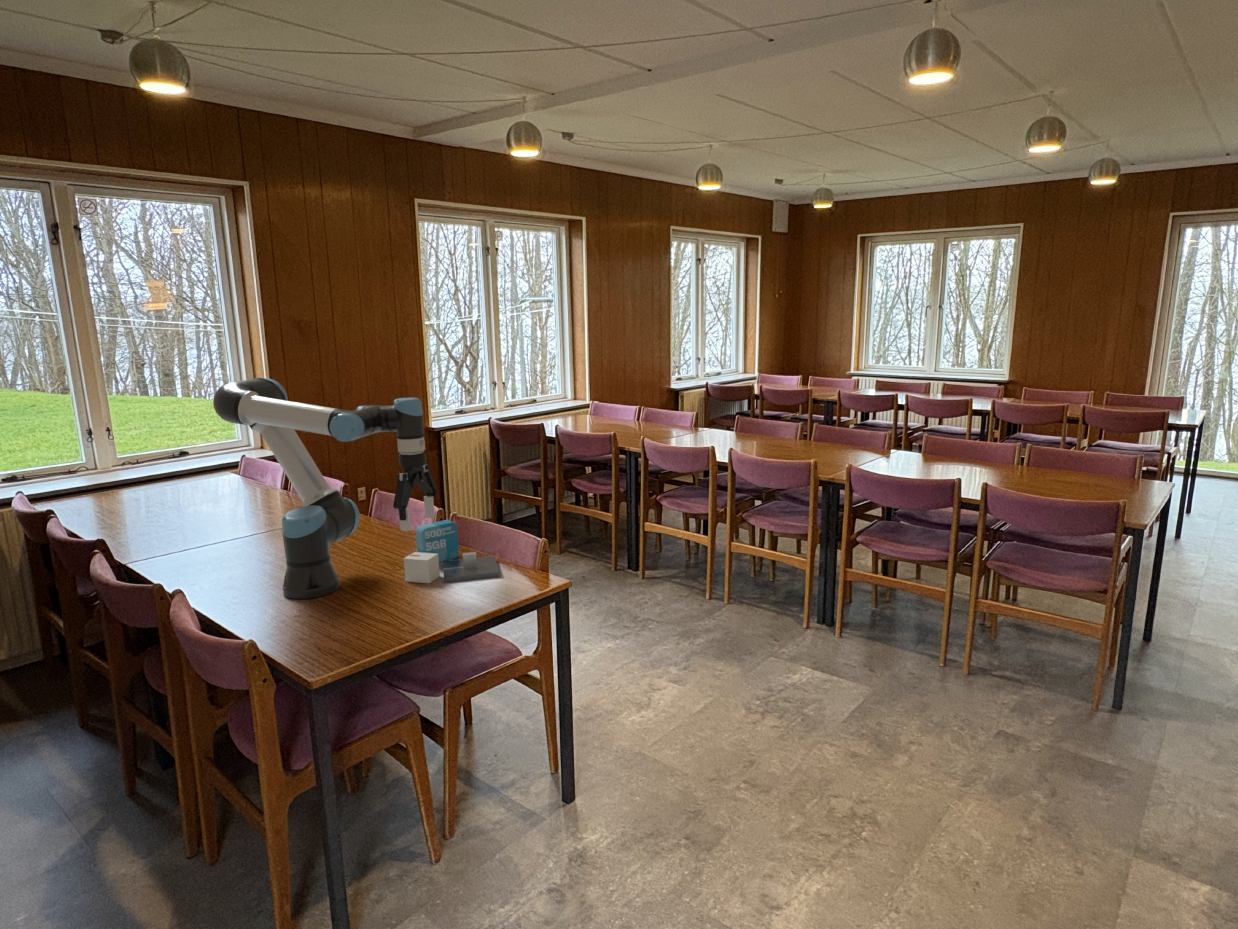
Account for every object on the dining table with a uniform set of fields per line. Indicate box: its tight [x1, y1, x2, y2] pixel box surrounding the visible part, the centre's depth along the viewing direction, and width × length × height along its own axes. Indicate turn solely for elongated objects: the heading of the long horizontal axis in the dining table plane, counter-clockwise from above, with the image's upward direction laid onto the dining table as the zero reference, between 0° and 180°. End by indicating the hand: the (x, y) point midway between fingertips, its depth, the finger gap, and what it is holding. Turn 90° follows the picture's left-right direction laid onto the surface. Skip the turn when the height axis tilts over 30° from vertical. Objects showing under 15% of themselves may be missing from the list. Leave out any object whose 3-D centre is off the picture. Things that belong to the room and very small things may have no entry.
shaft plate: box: [442, 551, 501, 584], centre depth 233 cm, size 16×16×6 cm
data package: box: [415, 519, 460, 564], centre depth 243 cm, size 12×4×12 cm, turn 130°
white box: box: [403, 551, 441, 584], centre depth 227 cm, size 6×8×7 cm
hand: (418, 524), depth 225 cm, fingers open, 13 cm apart
